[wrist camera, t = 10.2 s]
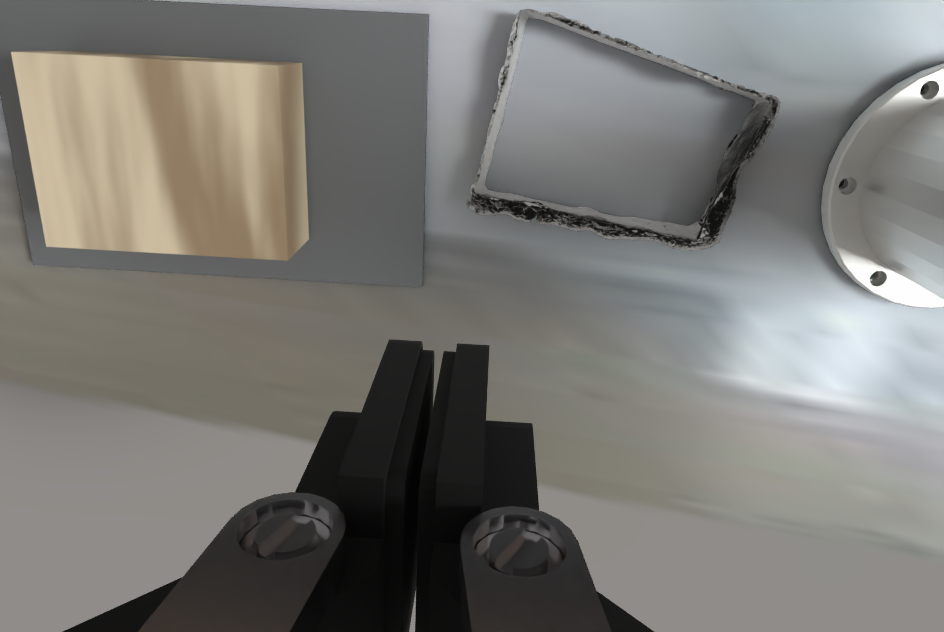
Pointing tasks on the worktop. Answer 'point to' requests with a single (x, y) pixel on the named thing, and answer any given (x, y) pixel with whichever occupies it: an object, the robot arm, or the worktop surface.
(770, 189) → the worktop surface
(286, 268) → the rubber mat
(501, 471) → the robot arm
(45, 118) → the maple plaque
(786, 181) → the worktop surface
